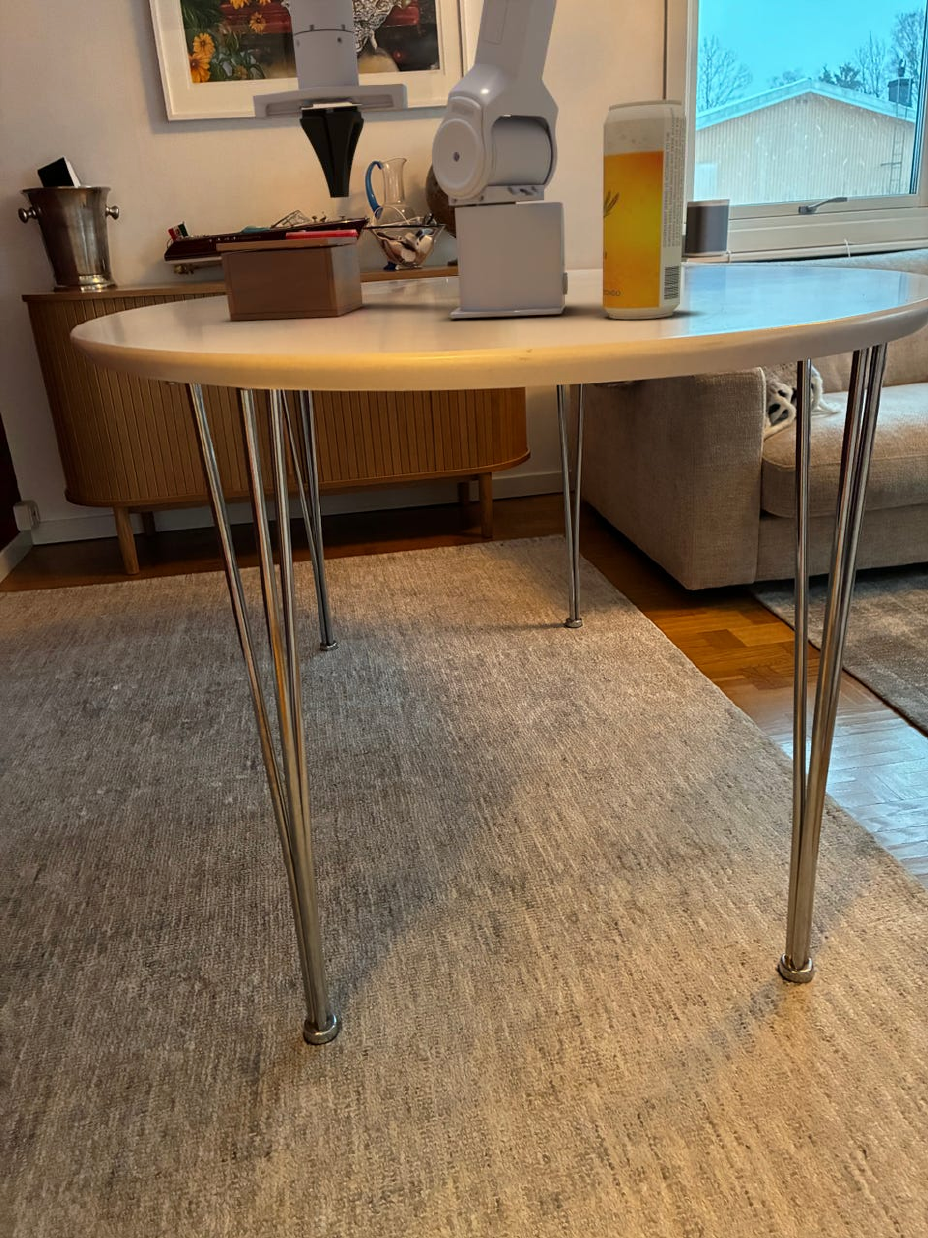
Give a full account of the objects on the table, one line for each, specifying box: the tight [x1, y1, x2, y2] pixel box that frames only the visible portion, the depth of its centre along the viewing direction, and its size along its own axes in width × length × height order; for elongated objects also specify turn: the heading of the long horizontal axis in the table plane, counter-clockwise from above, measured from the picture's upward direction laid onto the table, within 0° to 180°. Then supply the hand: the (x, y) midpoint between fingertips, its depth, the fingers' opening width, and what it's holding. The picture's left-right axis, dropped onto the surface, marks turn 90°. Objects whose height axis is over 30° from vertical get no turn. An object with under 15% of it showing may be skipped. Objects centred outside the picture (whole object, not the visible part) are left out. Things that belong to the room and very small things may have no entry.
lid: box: [215, 236, 358, 252], centre depth 90 cm, size 11×11×1 cm
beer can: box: [602, 99, 688, 320], centre depth 72 cm, size 6×6×15 cm
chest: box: [220, 243, 364, 322], centre depth 92 cm, size 10×11×6 cm
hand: (339, 197), depth 91 cm, fingers closed
